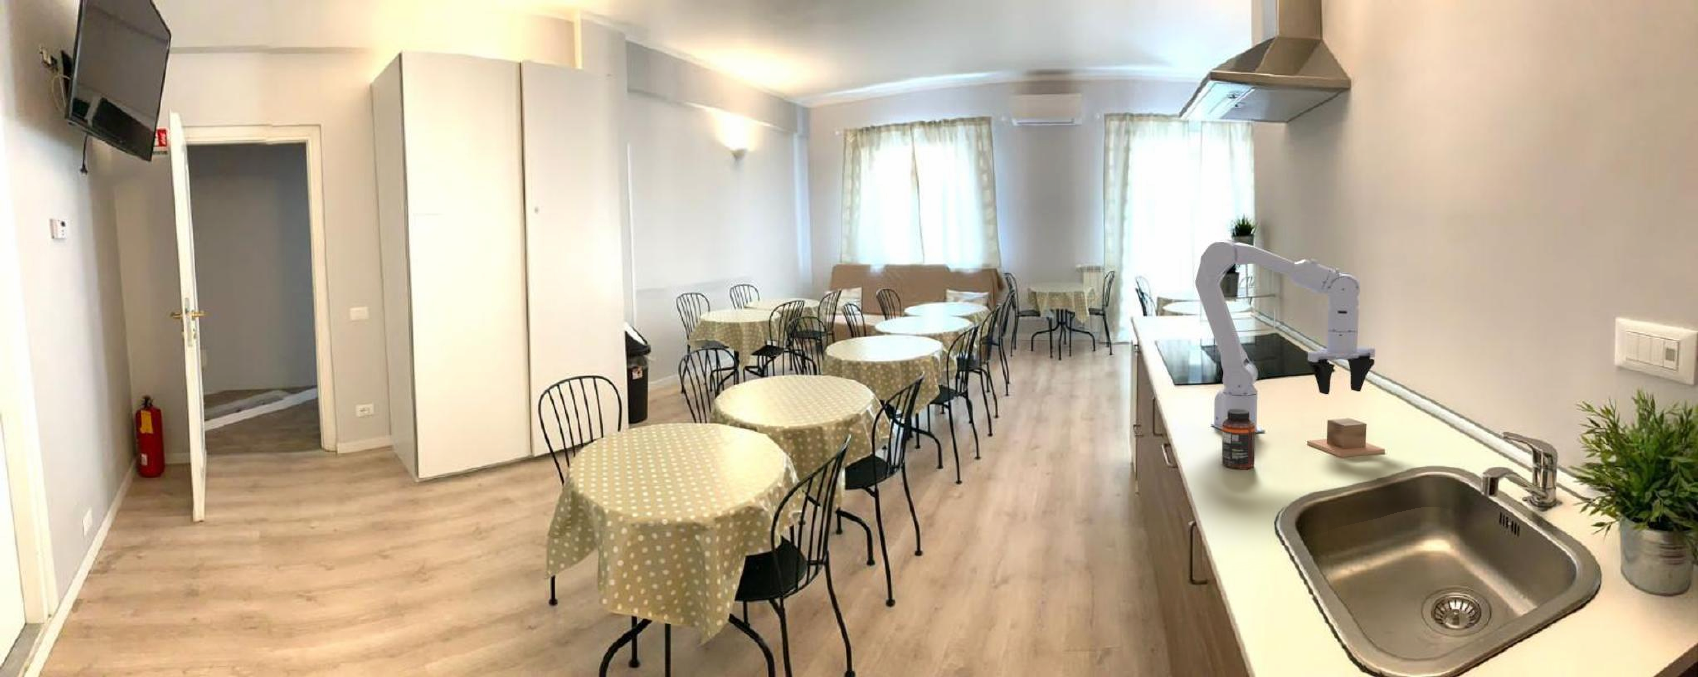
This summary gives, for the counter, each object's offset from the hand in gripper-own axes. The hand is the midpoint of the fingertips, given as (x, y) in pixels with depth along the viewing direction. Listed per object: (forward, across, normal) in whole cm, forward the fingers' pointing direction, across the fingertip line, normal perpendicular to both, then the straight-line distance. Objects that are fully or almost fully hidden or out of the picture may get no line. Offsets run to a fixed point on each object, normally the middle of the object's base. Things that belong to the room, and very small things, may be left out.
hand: (1340, 392), depth 181 cm
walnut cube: (+10, -4, -7) cm, 13 cm away
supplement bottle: (+11, -31, -11) cm, 35 cm away
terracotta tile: (+10, -4, -7) cm, 13 cm away
